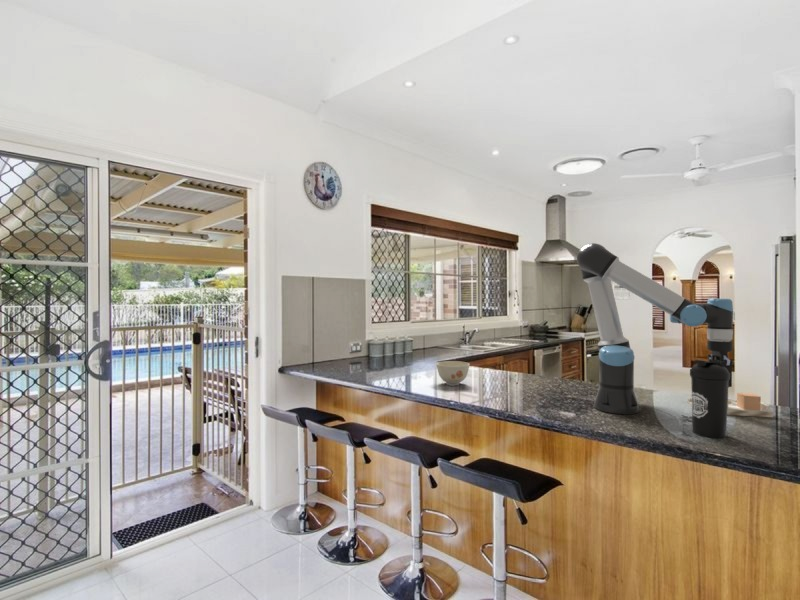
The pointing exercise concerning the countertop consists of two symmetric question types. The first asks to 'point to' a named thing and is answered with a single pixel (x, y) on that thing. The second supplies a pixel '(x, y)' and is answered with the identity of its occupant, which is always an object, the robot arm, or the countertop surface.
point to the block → (748, 401)
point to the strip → (763, 409)
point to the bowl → (452, 371)
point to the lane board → (743, 413)
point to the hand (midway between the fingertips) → (719, 402)
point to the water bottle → (709, 398)
